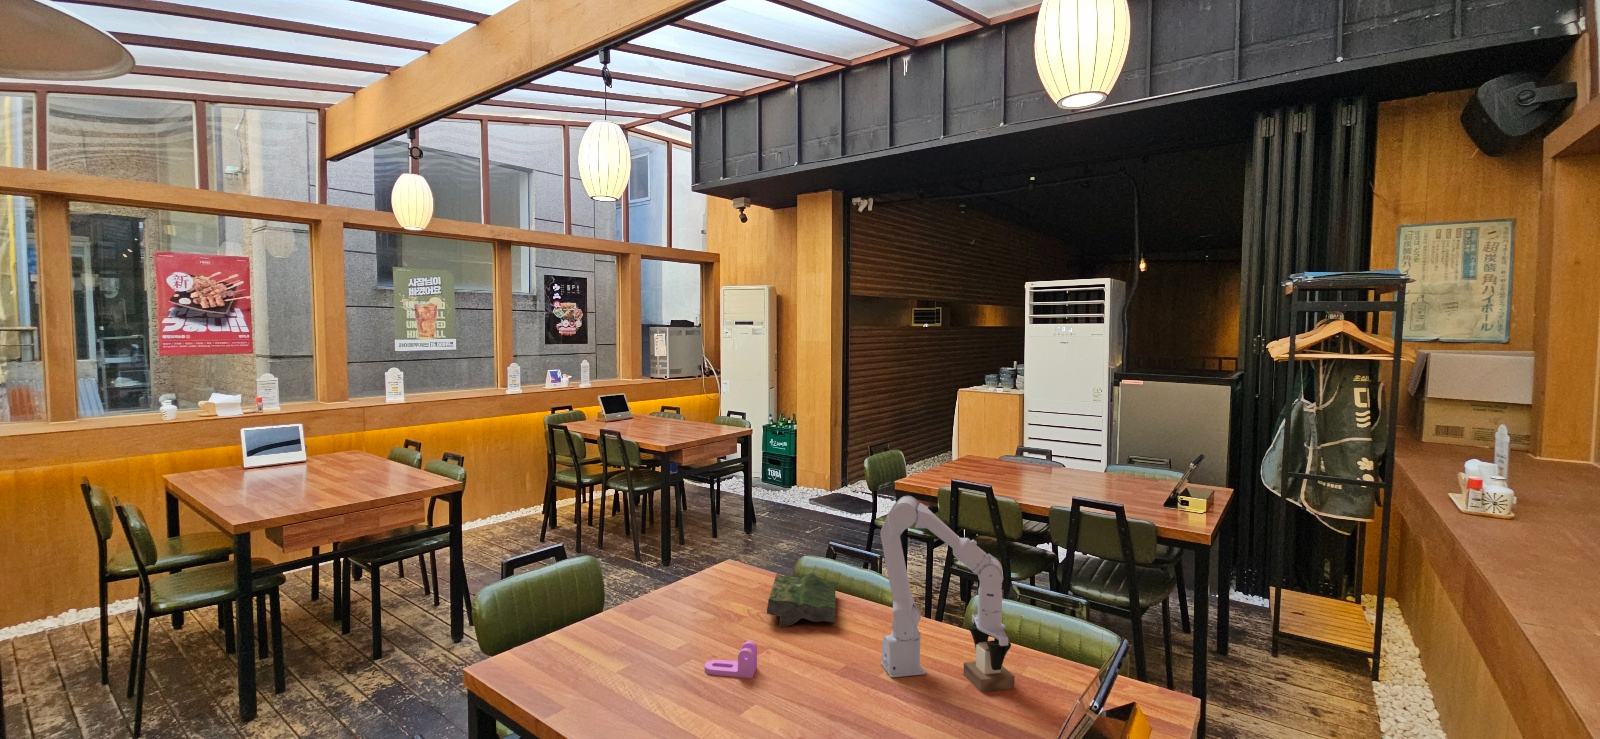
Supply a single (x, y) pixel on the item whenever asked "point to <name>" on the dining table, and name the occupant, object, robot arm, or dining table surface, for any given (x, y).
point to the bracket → (736, 663)
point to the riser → (988, 678)
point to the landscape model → (802, 599)
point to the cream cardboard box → (984, 659)
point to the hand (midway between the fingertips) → (988, 662)
